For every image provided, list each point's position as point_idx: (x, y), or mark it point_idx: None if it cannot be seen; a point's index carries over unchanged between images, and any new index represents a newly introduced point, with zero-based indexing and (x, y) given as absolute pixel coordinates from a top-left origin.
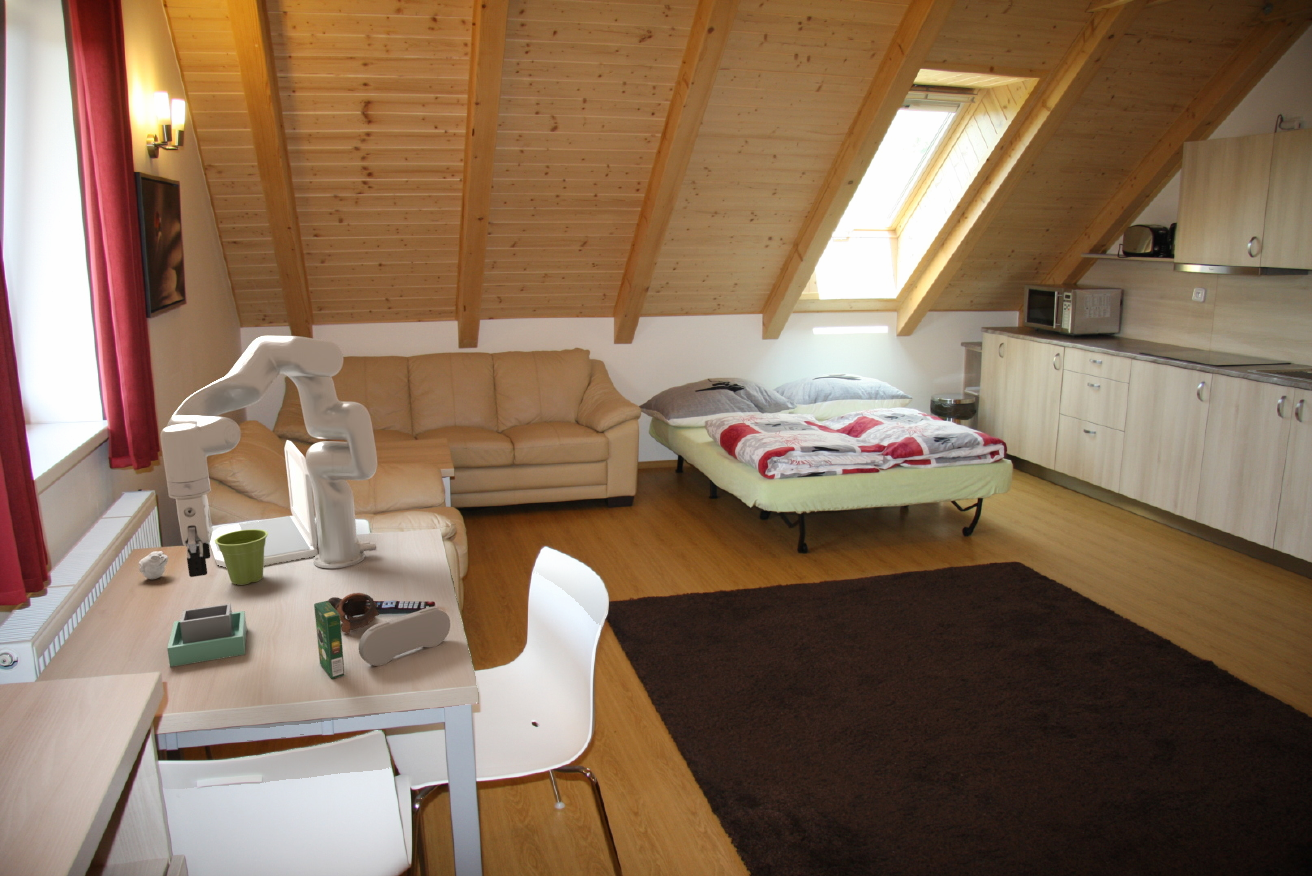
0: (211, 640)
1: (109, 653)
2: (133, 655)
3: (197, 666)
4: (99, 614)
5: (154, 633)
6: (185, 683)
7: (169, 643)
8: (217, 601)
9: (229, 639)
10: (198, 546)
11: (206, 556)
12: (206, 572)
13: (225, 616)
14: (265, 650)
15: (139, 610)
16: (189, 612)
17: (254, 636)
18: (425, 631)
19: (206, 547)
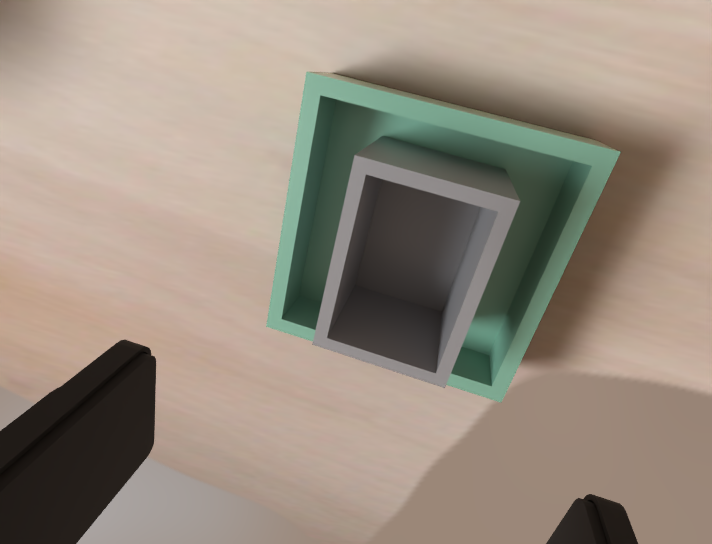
0: (553, 272)
1: (291, 438)
2: (340, 405)
3: (560, 299)
4: (34, 395)
5: (215, 331)
6: (668, 358)
7: (462, 387)
8: (33, 116)
9: (591, 206)
10: (52, 524)
11: (142, 383)
12: (624, 520)
13: (512, 217)
14: (624, 51)
15: (36, 322)
16: (332, 323)
17: (436, 62)
18: None
19: (68, 446)
